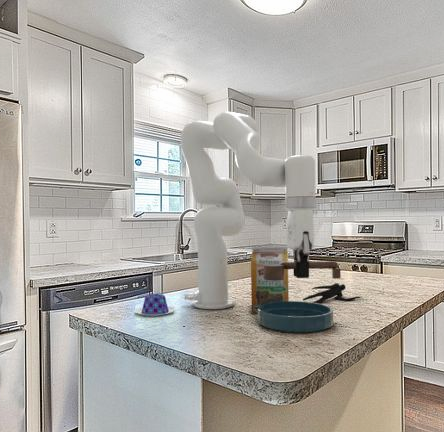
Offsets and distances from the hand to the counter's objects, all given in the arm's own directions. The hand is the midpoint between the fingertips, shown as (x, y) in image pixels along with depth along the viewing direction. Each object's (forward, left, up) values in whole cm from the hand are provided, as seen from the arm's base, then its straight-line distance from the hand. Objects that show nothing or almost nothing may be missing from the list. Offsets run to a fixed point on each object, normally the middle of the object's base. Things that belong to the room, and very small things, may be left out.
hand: (301, 276), depth 105 cm
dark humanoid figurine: (+19, +29, -13) cm, 37 cm away
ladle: (0, 0, -1) cm, 1 cm away
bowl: (-1, +4, -13) cm, 14 cm away
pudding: (-39, +21, -13) cm, 46 cm away
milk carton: (-4, +21, -13) cm, 25 cm away
